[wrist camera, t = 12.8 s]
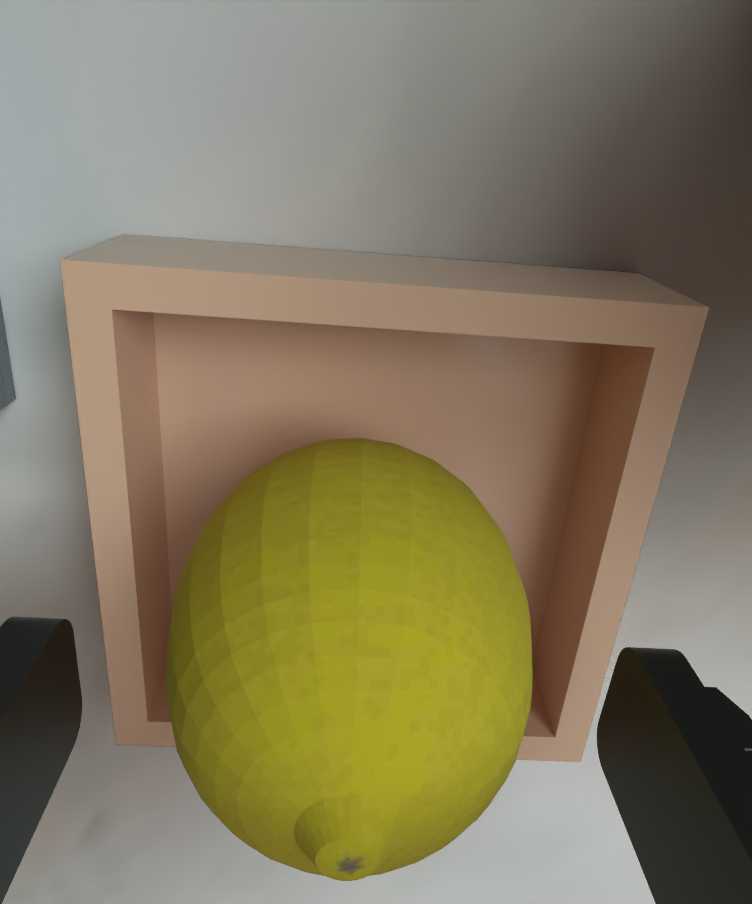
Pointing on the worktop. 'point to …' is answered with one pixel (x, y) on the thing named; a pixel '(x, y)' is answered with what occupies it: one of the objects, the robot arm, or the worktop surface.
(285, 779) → the lemon
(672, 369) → the dish
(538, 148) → the worktop surface
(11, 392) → the block
